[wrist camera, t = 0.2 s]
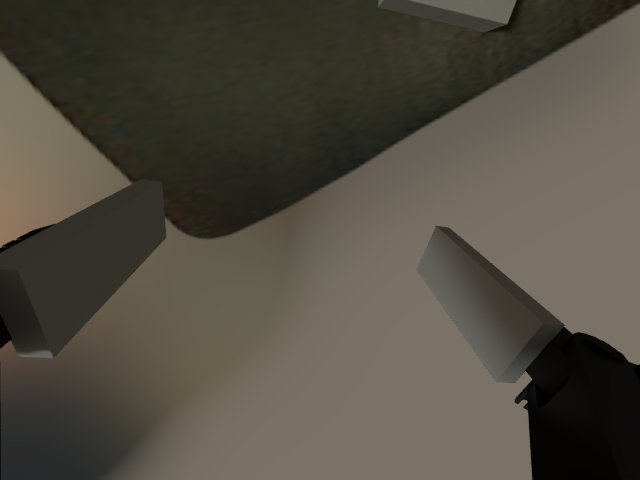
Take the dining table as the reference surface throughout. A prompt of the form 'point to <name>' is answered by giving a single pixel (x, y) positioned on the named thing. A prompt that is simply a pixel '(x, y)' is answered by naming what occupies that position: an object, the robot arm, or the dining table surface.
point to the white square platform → (457, 11)
